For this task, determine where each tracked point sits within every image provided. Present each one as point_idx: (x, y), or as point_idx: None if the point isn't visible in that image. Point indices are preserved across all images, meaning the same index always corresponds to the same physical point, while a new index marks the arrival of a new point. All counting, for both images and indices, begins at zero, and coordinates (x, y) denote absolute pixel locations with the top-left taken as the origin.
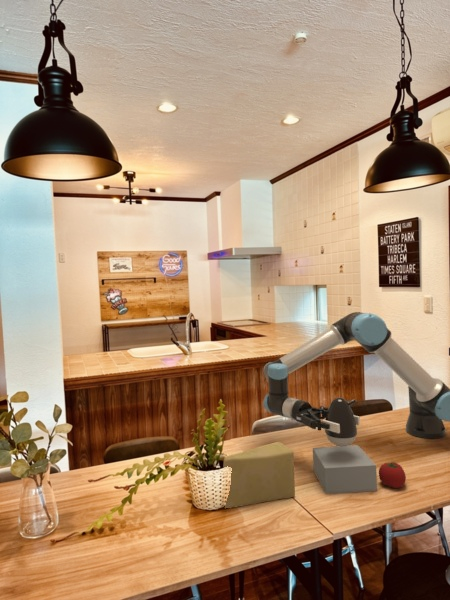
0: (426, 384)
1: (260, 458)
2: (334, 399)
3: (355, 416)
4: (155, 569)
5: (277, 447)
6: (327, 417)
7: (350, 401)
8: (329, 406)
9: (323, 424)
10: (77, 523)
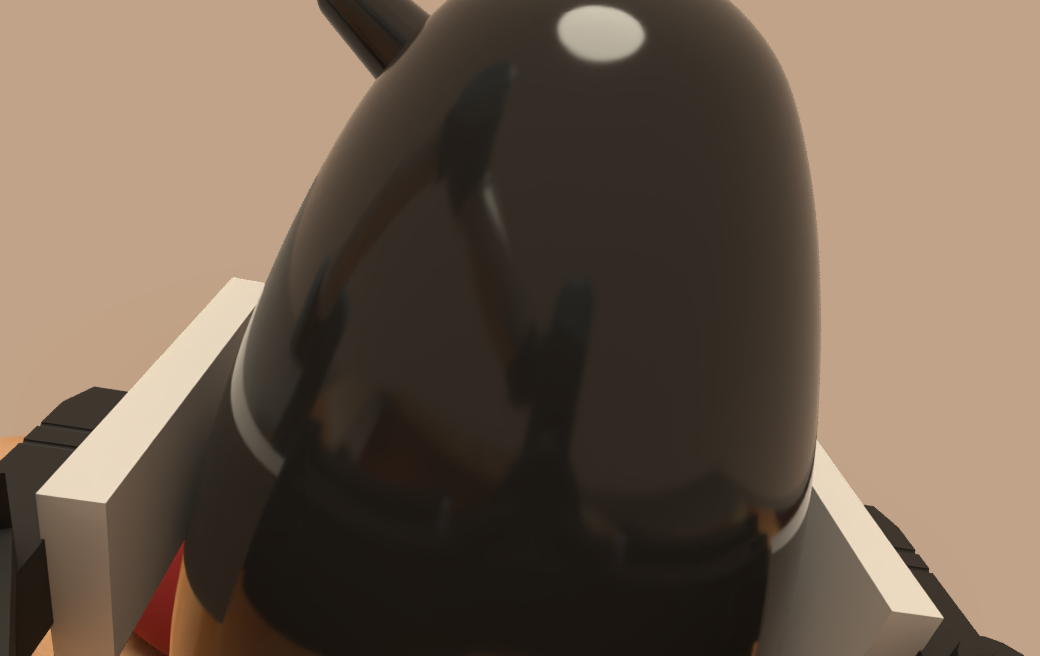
0: None
1: None
2: (751, 28)
3: (251, 306)
4: None
5: None
6: (806, 513)
7: (428, 14)
8: (792, 288)
9: (926, 579)
10: None
